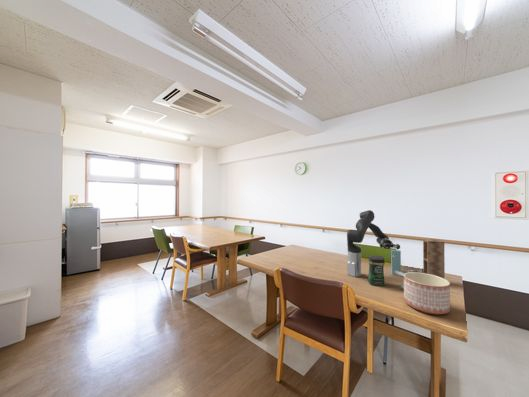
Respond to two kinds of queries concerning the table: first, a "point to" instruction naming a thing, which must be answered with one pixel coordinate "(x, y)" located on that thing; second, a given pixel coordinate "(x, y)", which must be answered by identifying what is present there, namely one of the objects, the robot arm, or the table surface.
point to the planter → (427, 293)
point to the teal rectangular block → (395, 261)
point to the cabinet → (432, 258)
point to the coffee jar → (376, 270)
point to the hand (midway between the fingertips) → (391, 247)
